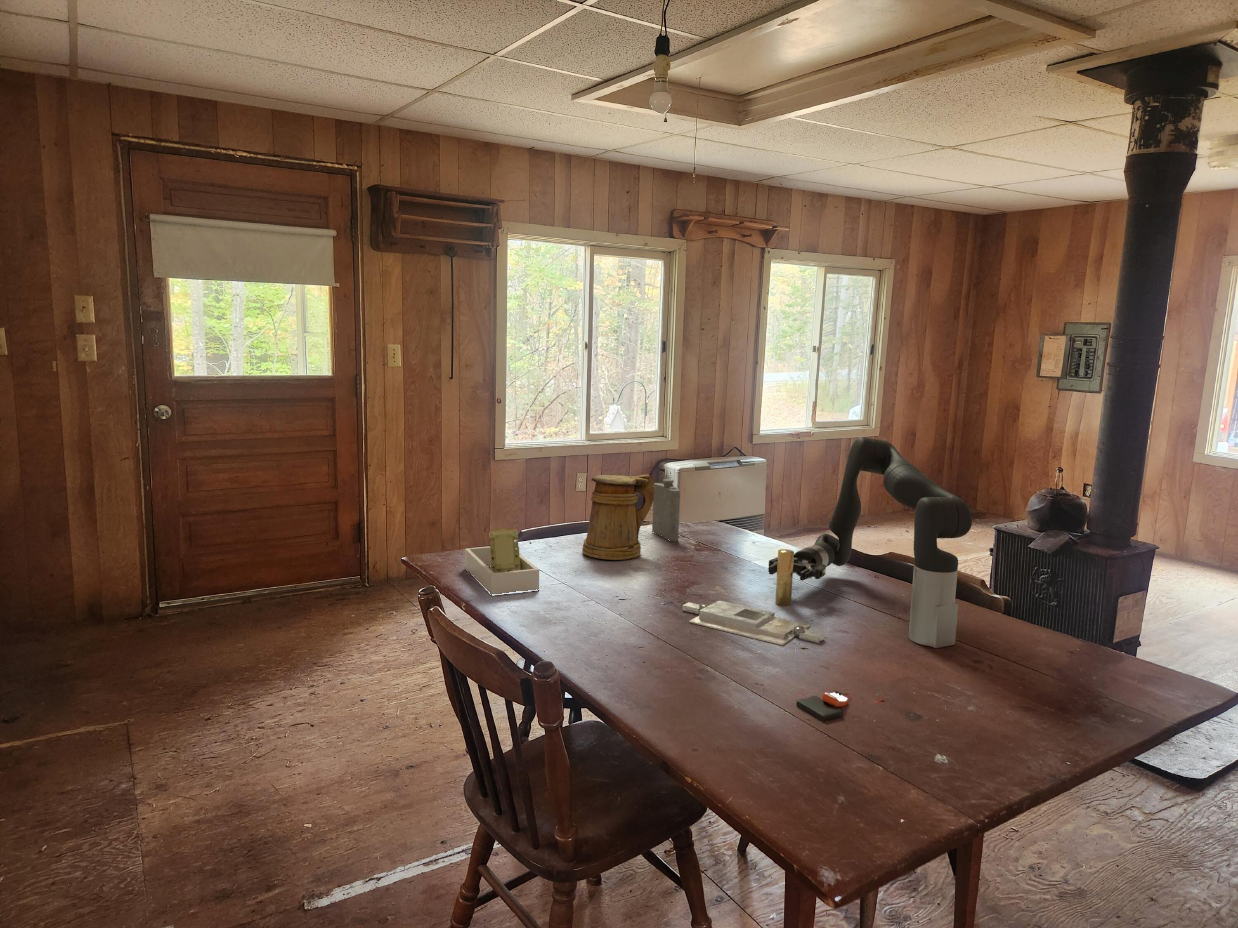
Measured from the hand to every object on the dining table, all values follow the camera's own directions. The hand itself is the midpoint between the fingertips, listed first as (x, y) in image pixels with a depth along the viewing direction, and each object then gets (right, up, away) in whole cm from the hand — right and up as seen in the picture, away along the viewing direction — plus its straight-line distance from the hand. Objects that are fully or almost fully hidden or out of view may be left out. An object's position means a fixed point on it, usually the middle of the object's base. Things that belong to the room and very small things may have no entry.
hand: (785, 573), depth 208 cm
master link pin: (0, -8, +1) cm, 8 cm away
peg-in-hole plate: (-12, -10, -15) cm, 22 cm away
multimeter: (-1, -17, -56) cm, 58 cm away
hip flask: (-27, +3, +72) cm, 76 cm away
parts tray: (-76, -4, +16) cm, 78 cm away
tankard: (-43, 0, +48) cm, 64 cm away
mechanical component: (-74, -4, +15) cm, 76 cm away
